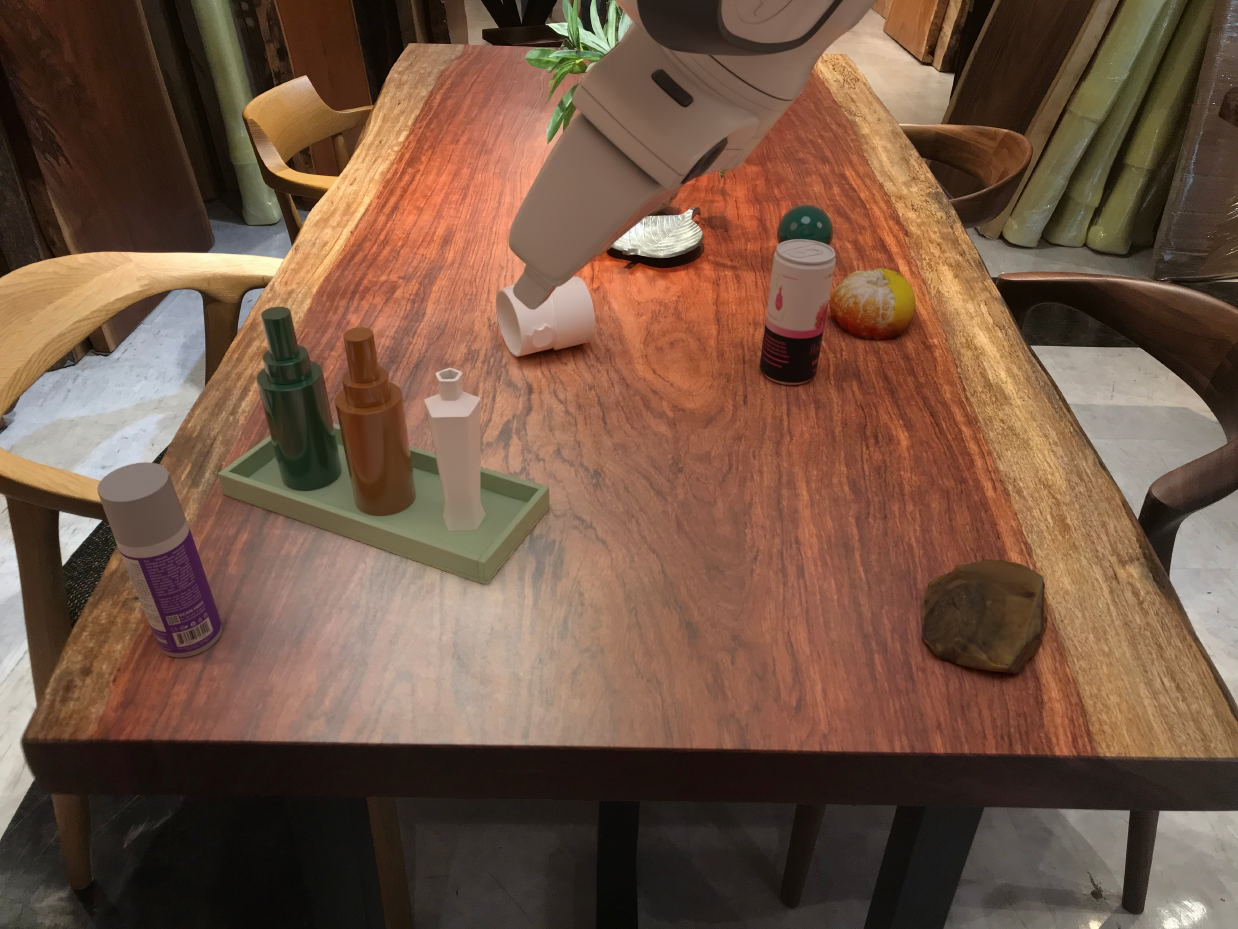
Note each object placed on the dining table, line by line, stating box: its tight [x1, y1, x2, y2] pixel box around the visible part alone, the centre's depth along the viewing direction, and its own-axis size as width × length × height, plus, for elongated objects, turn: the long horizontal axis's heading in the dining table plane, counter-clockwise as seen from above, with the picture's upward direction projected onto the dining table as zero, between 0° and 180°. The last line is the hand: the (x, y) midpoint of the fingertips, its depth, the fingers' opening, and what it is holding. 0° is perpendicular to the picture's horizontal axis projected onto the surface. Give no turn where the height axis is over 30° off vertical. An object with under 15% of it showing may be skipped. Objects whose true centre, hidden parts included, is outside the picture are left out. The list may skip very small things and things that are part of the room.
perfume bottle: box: [424, 367, 486, 531], centre depth 76 cm, size 5×4×15 cm
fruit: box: [828, 267, 917, 341], centre depth 113 cm, size 11×10×8 cm
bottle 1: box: [256, 306, 342, 491], centre depth 81 cm, size 6×6×17 cm
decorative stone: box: [920, 559, 1049, 674], centre depth 71 cm, size 10×9×4 cm
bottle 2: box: [334, 326, 416, 516], centre depth 78 cm, size 6×6×17 cm
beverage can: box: [759, 239, 837, 386], centre depth 100 cm, size 7×7×15 cm
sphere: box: [776, 203, 834, 247], centre depth 129 cm, size 8×8×8 cm
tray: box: [217, 422, 551, 586], centre depth 83 cm, size 28×11×2 cm, turn 66°
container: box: [96, 462, 223, 659], centre depth 65 cm, size 5×5×15 cm
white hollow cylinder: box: [495, 276, 596, 358], centre depth 107 cm, size 12×9×8 cm
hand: (562, 270), depth 55 cm, fingers open, 8 cm apart
